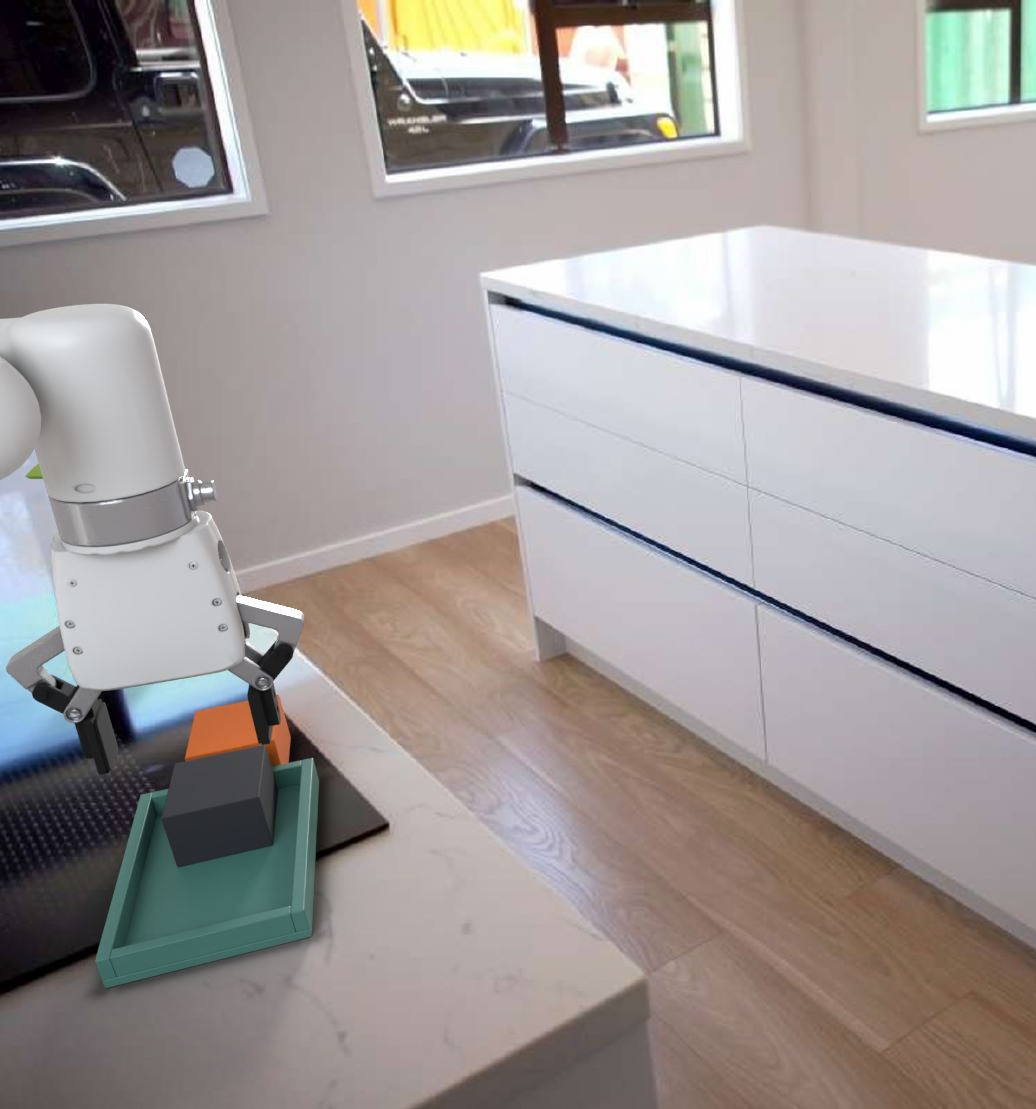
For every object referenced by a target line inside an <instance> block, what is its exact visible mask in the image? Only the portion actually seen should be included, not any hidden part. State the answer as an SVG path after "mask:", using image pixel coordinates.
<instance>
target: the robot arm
mask: <svg viewBox="0 0 1036 1109" xmlns="http://www.w3.org/2000/svg"><path fill="white" fill-rule="evenodd" d="M181 450H182V449H181V446H180V442H179V439H178V434H177V430H176V426H175V422H174V418H173V413H172V409H171V405H170V401H169V398H168V393H167V388H166V385H165V380H164V376H163V373H162V369H161V363H160V360H159V356H158V351H157V347H156V344H155V340H154V336H153V333H152V329H151V327H150V325H149V322H148V321H147V320H146V319H145V316H144V315H142V314H141V313H140V311H137V310H135V309H134V308H131V307H129V306H126V305H121V304H117V303H87V304H86V303H85V304H74V305H66V306H59V307H53V308H49V309H43V310H39V311H35V312H32V313H29V314H26V315H24V316H22V317H21V316H20V317H10V318H0V481H1V480H3V479H5V478H8V477H9V476H11V475H13V473H15V472H16V471H18V470H19V469H20V468H21V467H23V465H24V464H25V463H26V462H27V461H28V460H29V459H30V457H31V456H32V455H33V452H34V453H35V457H36V460H37V462H38V463H37V464H39V466H40V470H41V473H42V477H43V479H42V480H43V483H44V487H45V490H46V493H47V497H48V501H49V504H50V508H51V511H52V514H53V518H54V521H55V525H56V529H57V533H58V532H59V533H58V534H57V535H55V534H54V535H55V536H53V537H54V538H53V537H52V539H51V543H50V562H51V563H50V564H51V575H52V576H51V577H52V586H53V594H54V598H55V599H54V600H55V606H56V613H57V618H58V624H59V625H57V626H56V627H55V628H53V629H52V630H50V631H49V632H47V633H45V634H44V635H42V636H40V637H39V638H38V639H36V640H35V641H33V642H31V643H30V644H28V645H27V646H25V647H24V648H22V649H21V650H19V651H18V652H15V653H14V654H13V655H12V656H11V657H10V659H9V660H8V662H7V664H6V667H5V670H6V672H7V674H8V675H9V676H10V677H12V678H13V680H14V681H16V682H17V683H18V684H19V685H20V686H21V687H22V688H24V689H25V690H28V692H30V693H31V696H32V698H33V699H34V701H36V702H38V703H39V704H41V705H44V706H46V707H48V708H50V709H52V710H54V711H56V712H58V713H60V714H62V715H63V718H64V720H65V721H67V722H69V723H71V724H74V727H75V730H76V733H77V736H78V740H79V743H80V746H81V749H82V753H83V756H84V758H85V759H86V760H89V759H93V761H94V765H95V768H96V771H97V773H98V775H99V776H101V775H107V774H109V773H110V772H112V771H113V768H114V765H115V762H116V760H117V756H118V753H119V746H118V742H117V738H116V735H115V732H114V728H113V725H112V722H111V718H110V714H109V711H108V707H107V704H106V702H103V700H102V698H99V697H100V695H101V693H102V692H106V691H107V692H109V691H117V690H123V689H129V688H136V687H141V686H142V687H143V686H148V685H153V684H160V683H166V682H174V681H179V680H184V679H190V678H196V677H203V676H209V675H214V674H217V673H223V672H225V671H228V672H230V673H231V674H233V675H234V676H236V677H237V678H239V679H241V680H242V681H243V682H245V683H247V684H248V689H247V694H246V695H247V696H246V697H247V701H248V702H249V706H250V710H251V714H252V719H253V723H254V727H255V731H256V735H257V739H258V743H259V744H260V743H262V745H265V744H270V743H271V737H272V729H273V726H274V725H279V724H280V722H281V715H280V709H279V705H278V700H277V696H276V695H277V692H276V688H275V683H274V681H275V680H276V679H277V678H278V677H279V675H280V674H281V672H283V670H284V669H285V668H286V667H287V665H288V664H289V663H290V662H291V661H292V659H293V657H294V653H295V650H296V647H297V645H298V642H299V640H300V637H301V634H302V632H303V629H304V626H305V614H304V612H302V611H300V610H297V609H294V608H291V607H286V606H283V605H279V604H274V603H271V602H267V601H262V600H258V599H255V598H251V597H247V596H243V594H242V591H241V588H240V585H239V582H238V579H237V575H236V572H235V569H234V566H233V563H232V561H231V557H230V554H229V552H228V550H227V547H226V544H225V541H224V540H223V537H222V535H221V533H220V531H219V529H218V526H217V524H216V522H215V520H214V518H213V517H212V515H211V513H210V512H208V511H205V510H199V508H200V506H206V504H207V503H208V504H209V503H216V502H218V500H219V498H218V491H217V490H218V489H217V485H216V483H215V480H208V481H207V480H206V481H202V480H200V479H198V480H195V479H194V476H190V473H189V468H186V466H185V462H184V458H183V454H182V451H181ZM250 625H255V626H258V627H259V626H260V627H263V628H267V629H271V630H274V631H276V632H277V634H278V635H277V637H276V640H274V642H273V644H272V645H271V646H270V647H269V648H268V650H267V651H266V652H265V653H264V652H263V651H262V650H260V649H258V648H257V647H256V646H254V645H253V644H251V643H250V642H248V641H247V639H250V636H251V629H250V628H251V627H250ZM63 652H64V653H65V657H66V662H67V664H68V666H69V670H70V673H71V676H72V678H73V680H74V682H75V683H76V685H74V684H72V683H69V682H68V681H66V680H64V679H62V678H60V677H58V676H56V675H53V674H50V673H49V672H48V670H47V669H46V668H45V667H44V665H45V664H46V663H48V662H50V661H51V660H52V659H54V658H56V657H57V656H59V655H60V654H62V653H63Z"/></svg>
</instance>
